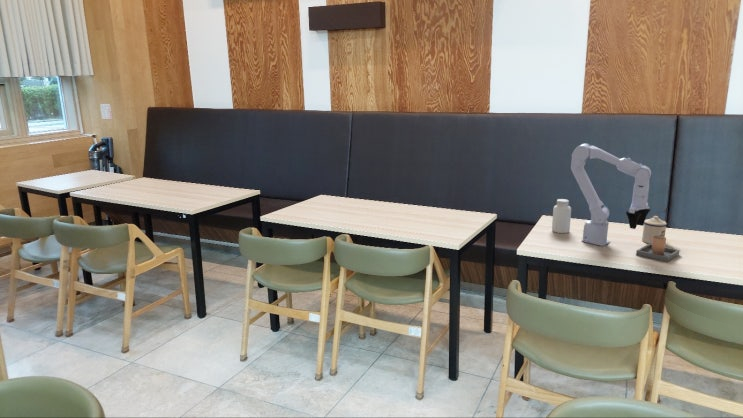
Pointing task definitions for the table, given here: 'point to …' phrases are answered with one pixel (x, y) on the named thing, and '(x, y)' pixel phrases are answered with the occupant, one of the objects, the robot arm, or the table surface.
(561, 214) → the pill bottle
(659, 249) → the terracotta cup
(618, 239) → the table surface
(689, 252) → the table surface
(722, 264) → the table surface
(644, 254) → the charcoal tray
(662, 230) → the teacup with lid
